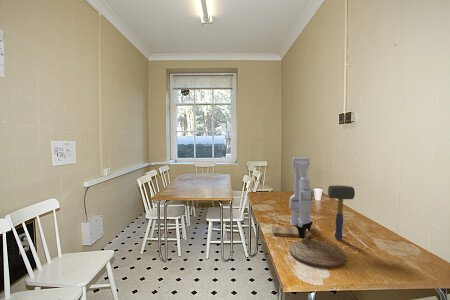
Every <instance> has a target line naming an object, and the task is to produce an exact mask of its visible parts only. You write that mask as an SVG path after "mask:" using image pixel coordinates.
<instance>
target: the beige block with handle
mask: <svg viewBox="0 0 450 300" xmlns="http://www.w3.org/2000/svg"><path fill="white" fill-rule="evenodd" d="M309 232H310V230H309V231H308V230H307V229H306V231H305V236H304V239H301V238H299V239H300V241H303V240H309V238H310V237H309Z"/></svg>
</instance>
